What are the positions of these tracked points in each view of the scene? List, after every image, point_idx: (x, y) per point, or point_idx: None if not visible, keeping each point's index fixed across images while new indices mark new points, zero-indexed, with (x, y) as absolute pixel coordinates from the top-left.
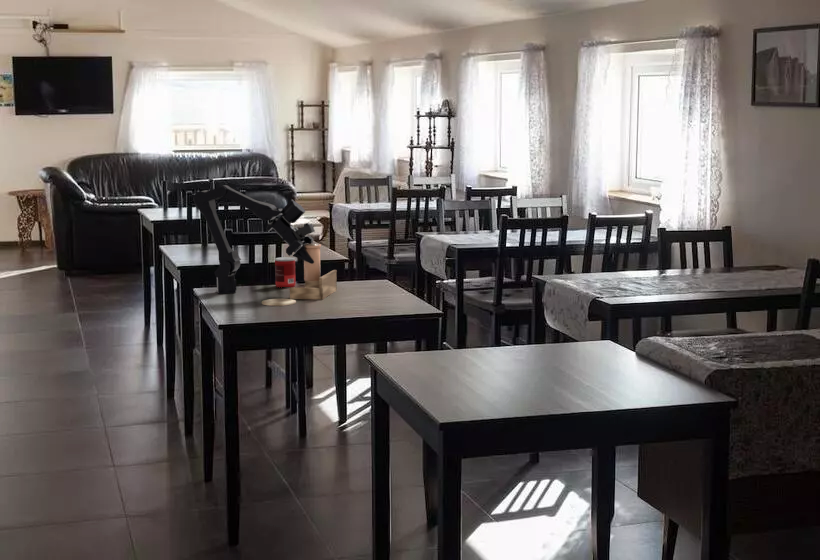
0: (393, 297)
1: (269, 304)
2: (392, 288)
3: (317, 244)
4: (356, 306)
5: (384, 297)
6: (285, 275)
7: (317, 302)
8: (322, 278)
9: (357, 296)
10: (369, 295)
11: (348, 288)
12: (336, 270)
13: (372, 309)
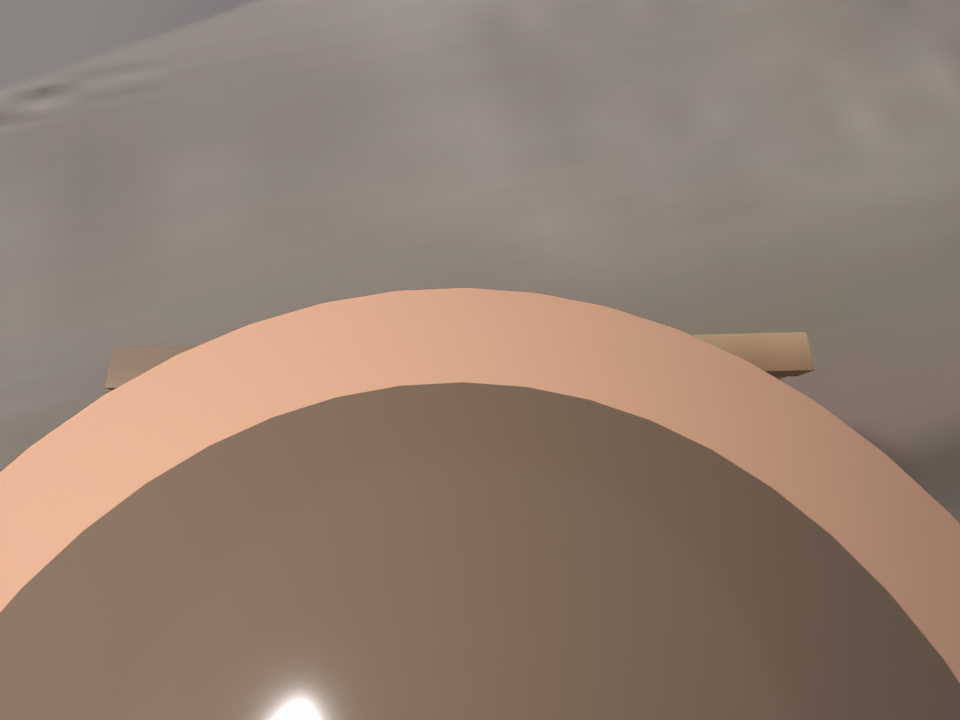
0: (493, 2)
1: None
2: (136, 64)
3: (272, 551)
4: (862, 117)
5: (503, 43)
6: None
7: (820, 387)
8: (787, 334)
9: (497, 192)
10: (442, 133)
11: (127, 337)
12: (120, 350)
13: (914, 25)
